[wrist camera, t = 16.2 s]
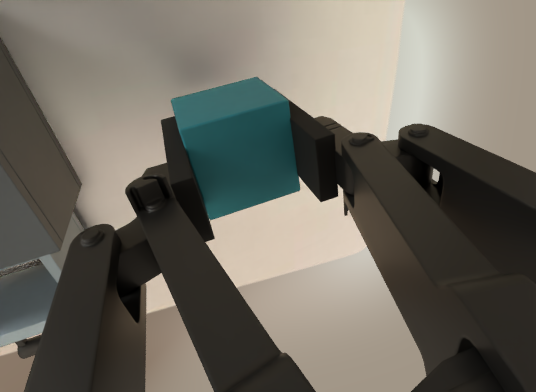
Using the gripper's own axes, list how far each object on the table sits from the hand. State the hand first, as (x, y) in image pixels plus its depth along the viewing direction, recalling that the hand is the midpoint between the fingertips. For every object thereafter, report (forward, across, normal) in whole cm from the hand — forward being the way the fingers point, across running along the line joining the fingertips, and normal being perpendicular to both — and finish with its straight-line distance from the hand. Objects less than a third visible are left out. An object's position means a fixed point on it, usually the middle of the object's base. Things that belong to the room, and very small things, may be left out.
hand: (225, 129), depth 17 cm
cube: (0, 0, 0) cm, 0 cm away
